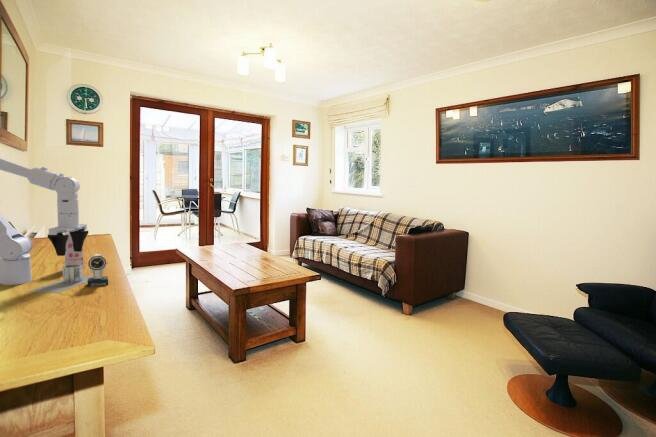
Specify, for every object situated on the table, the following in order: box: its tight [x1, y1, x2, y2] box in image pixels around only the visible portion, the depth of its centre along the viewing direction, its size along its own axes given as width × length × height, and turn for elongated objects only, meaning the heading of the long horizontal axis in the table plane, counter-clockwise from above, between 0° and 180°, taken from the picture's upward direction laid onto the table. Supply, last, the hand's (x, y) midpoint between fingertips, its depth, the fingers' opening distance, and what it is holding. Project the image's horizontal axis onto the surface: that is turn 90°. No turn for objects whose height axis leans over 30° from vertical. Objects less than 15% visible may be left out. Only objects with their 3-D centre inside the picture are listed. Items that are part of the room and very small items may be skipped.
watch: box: [87, 253, 109, 288], centre depth 116 cm, size 6×8×11 cm
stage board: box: [28, 275, 93, 294], centre depth 116 cm, size 9×20×1 cm, turn 179°
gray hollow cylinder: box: [62, 264, 84, 283], centre depth 119 cm, size 5×5×5 cm
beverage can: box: [64, 232, 85, 269], centre depth 135 cm, size 6×6×15 cm
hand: (69, 253), depth 121 cm, fingers open, 7 cm apart
